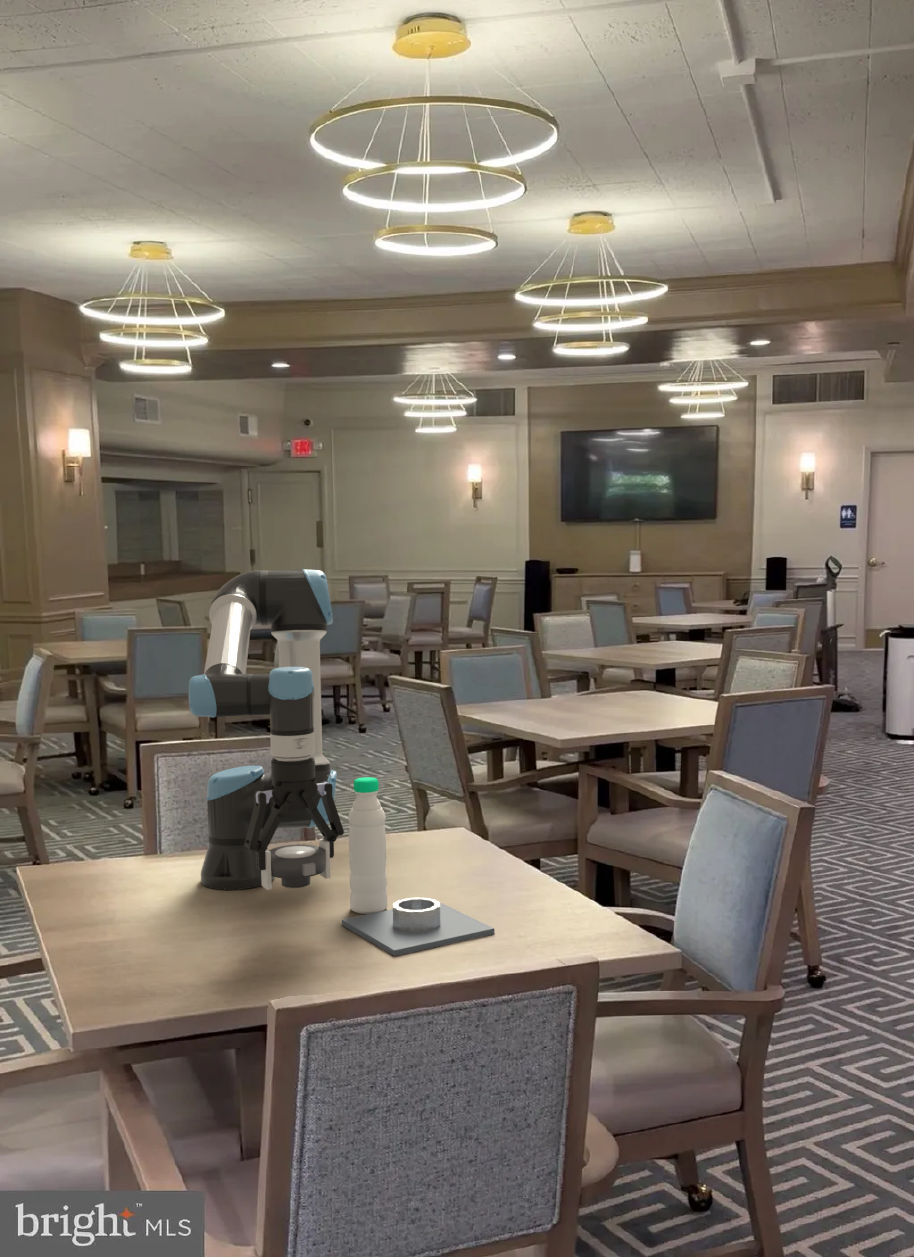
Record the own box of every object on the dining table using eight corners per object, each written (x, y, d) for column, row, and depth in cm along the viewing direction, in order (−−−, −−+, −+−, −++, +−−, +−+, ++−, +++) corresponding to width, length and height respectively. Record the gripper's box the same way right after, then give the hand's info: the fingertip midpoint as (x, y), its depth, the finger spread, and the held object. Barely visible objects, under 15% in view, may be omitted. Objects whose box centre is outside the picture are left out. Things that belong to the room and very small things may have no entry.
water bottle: (381, 915, 211) (379, 782, 210) (345, 914, 213) (342, 781, 211) (391, 904, 218) (389, 775, 217) (356, 902, 220) (353, 774, 218)
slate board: (341, 924, 206) (341, 919, 206) (436, 905, 217) (436, 900, 217) (394, 956, 189) (394, 950, 189) (494, 933, 200) (494, 928, 200)
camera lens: (254, 879, 201) (254, 848, 201) (308, 870, 206) (308, 839, 206) (282, 898, 191) (281, 865, 190) (338, 887, 196) (337, 855, 196)
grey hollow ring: (384, 921, 204) (384, 902, 204) (425, 913, 209) (425, 894, 209) (407, 934, 197) (407, 914, 197) (449, 925, 202) (448, 906, 201)
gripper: (237, 768, 187) (241, 899, 189) (361, 752, 199) (364, 876, 201) (221, 761, 194) (226, 887, 196) (343, 746, 206) (345, 865, 208)
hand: (296, 882), depth 198 cm, fingers closed on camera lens, 10 cm apart
